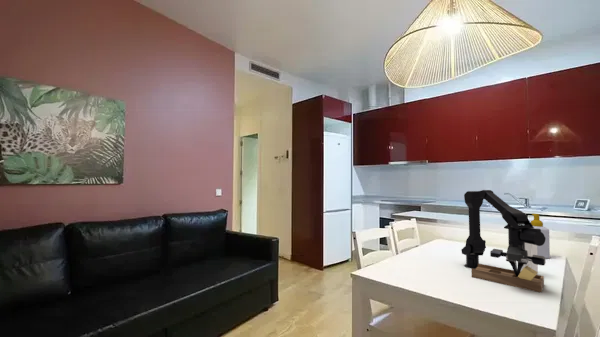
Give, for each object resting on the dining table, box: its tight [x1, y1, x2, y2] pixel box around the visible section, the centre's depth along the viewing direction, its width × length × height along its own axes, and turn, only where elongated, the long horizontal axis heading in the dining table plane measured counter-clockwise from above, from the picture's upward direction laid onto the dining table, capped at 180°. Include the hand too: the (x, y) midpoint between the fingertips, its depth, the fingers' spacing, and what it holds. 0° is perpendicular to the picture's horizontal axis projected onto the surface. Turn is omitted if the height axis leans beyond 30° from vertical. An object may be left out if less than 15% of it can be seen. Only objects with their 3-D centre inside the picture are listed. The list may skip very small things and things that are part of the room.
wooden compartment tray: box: [471, 263, 545, 293], centre depth 128 cm, size 12×25×4 cm, turn 45°
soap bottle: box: [530, 213, 551, 259], centre depth 168 cm, size 9×9×25 cm
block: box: [518, 266, 539, 281], centre depth 121 cm, size 4×4×5 cm
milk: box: [520, 243, 539, 275], centre depth 138 cm, size 6×6×22 cm
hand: (517, 276), depth 123 cm, fingers closed, pressing on block
